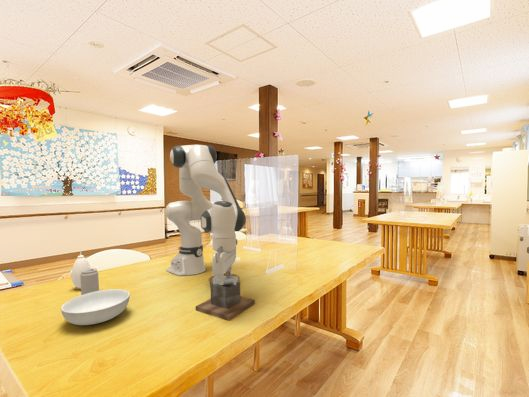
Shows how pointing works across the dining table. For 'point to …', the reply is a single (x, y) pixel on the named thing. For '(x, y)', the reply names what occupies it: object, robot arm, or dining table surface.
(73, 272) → the sauce bottle
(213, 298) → the square pot on base
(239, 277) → the plant saucer
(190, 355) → the dining table surface
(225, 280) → the grey t-shaped peg
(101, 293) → the serving bowl
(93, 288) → the beverage can
